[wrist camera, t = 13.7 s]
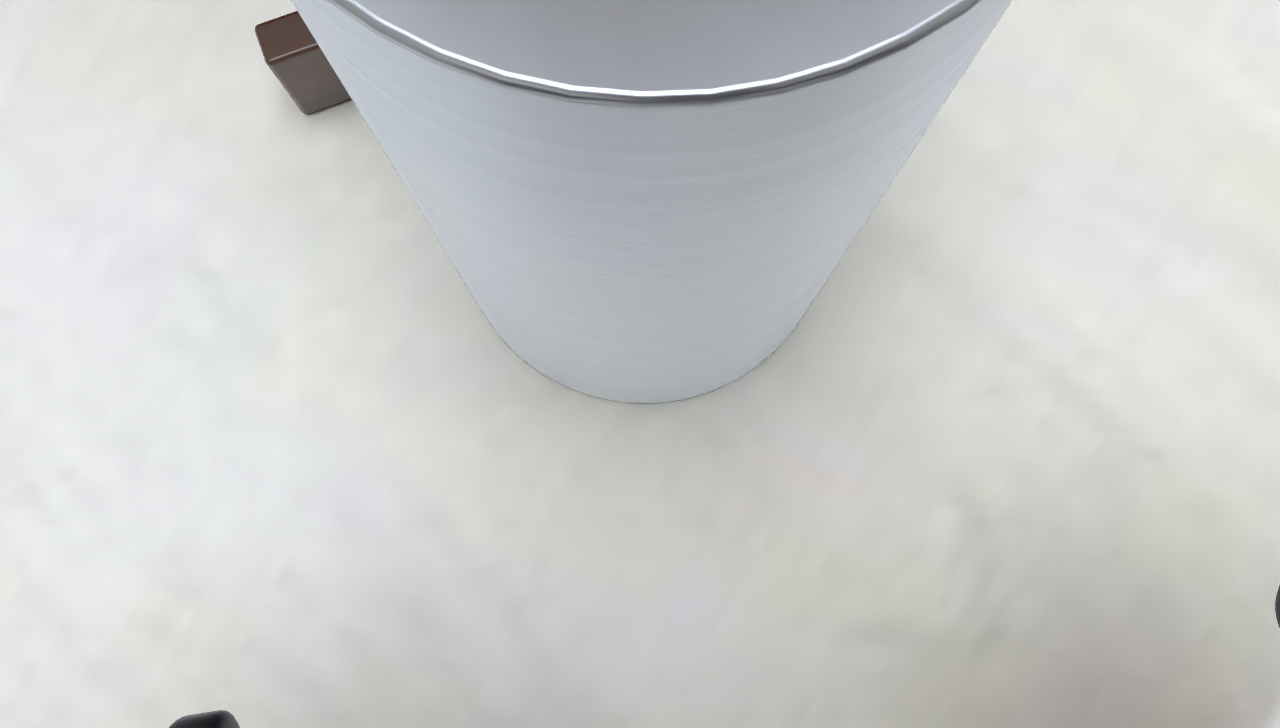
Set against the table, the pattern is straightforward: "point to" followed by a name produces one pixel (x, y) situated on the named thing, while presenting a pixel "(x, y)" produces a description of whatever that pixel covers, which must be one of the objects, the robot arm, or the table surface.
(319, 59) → the corner fence
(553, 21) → the grey upright cylinder
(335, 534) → the table surface
